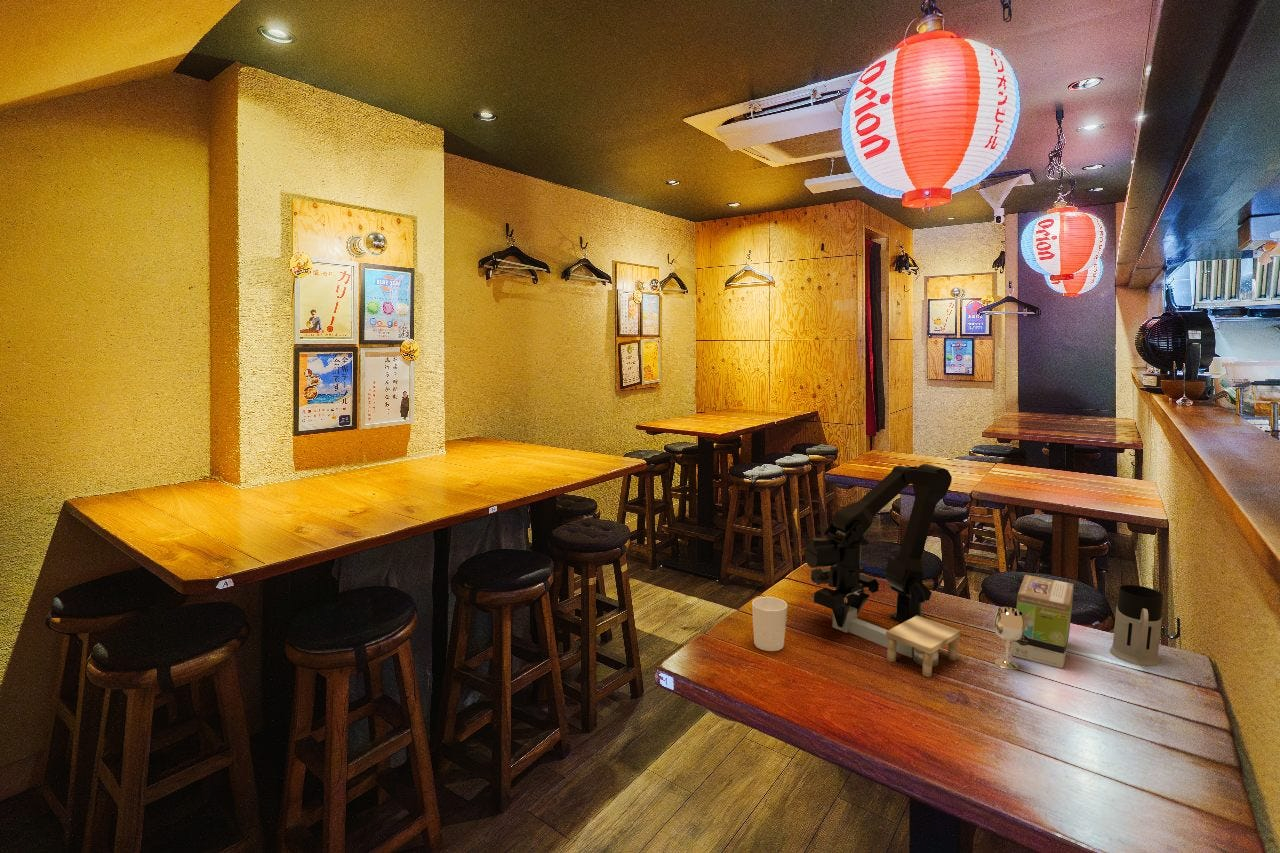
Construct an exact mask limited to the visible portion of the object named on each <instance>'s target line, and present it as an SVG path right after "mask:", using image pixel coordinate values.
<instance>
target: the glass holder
mask: <svg viewBox="0 0 1280 853" xmlns="http://www.w3.org/2000/svg"><path fill="white" fill-rule="evenodd" d="M1163 599H1164V594H1163V593H1162V592H1160V591H1158V590H1157V589H1153V588H1151V587H1147V586H1142V585H1136V584H1123V585H1120V586H1119V590H1118V599H1117V605H1116V607H1115V608H1116V610H1115V618H1114V619H1115V621H1114V628H1113V629H1114V630H1113V641H1112V646H1111V647H1110V649H1109V653H1110V654H1111V655H1112V656H1113V657H1114V658H1116V659H1118V660H1121V661H1123V662H1125V663H1128V664H1133V665H1136V666H1141V667H1156V666H1159V665H1160V663H1161V662H1160V659H1159V651H1160V650H1159V648H1160V639H1161V629H1162V621H1163V614H1162V612H1163V610H1162V609H1163V604H1164V603H1163Z"/></svg>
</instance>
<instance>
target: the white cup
mask: <svg viewBox="0 0 1280 853" xmlns="http://www.w3.org/2000/svg"><path fill="white" fill-rule="evenodd" d="M751 605H752V606H751V607H752V608H751V609H752V625H753V626H752V628H753V629H752V630H753V644H754V645H755V647H756V648H757V649H759V650H762V651H766V652H777V651H781V650H782V649H783V648H784V645H785V635H786V629H787V628H786V627H787V617H788V603H787V602H786V601H785V600H783V599H781V598H777V597H773V596H762V597H760V596H759V597H757V598H755V599H753V600H752V603H751Z"/></svg>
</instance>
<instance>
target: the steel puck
mask: <svg viewBox="0 0 1280 853" xmlns="http://www.w3.org/2000/svg"><path fill="white" fill-rule="evenodd" d="M939 651H940V649H938V650H937V651H935V652H933V660H932V668H933V667H936V666H938V665H939V659H940V658H939V656H940V654H939V653H940V652H939ZM912 659H913V661H914V663H916V664H918V665H920V666H923V651H921V650H918V649H916V648H914V653H913V658H912Z"/></svg>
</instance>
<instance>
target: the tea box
mask: <svg viewBox="0 0 1280 853" xmlns="http://www.w3.org/2000/svg"><path fill="white" fill-rule="evenodd" d="M1074 585H1075V584H1074V583H1072V582H1066V581H1061V580H1056V579H1052V578H1050V579H1049V578H1046V577H1042V576H1041V577H1040V576H1035V575H1029V574H1025V575H1024V576H1023V578H1022V582H1021V585H1020V587H1019V589H1018V593H1017V597H1016V599H1017V600H1016V607H1015V609H1017V610H1020V611H1021V612H1022V613H1023V616H1024V622H1025V632H1024V635H1023V637H1022V638H1021V639H1019V640H1017V641H1012V646H1011V648H1012V649H1011V655H1012V656H1014V657H1015V658H1016V657H1017V658H1021V659H1023V660H1028V661H1031V662H1036V663H1039V664H1043V665H1045V666H1046V665H1047V666H1051V667H1055V668H1058V669H1063V668H1064V666H1065V663H1066V662H1065V661H1066V656H1067V650H1068V643H1069V636H1070V630H1071V629H1070V628H1071V618H1072V611H1073V610H1072V609H1073V600H1074V598H1073V597H1074V588H1075V586H1074Z"/></svg>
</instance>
